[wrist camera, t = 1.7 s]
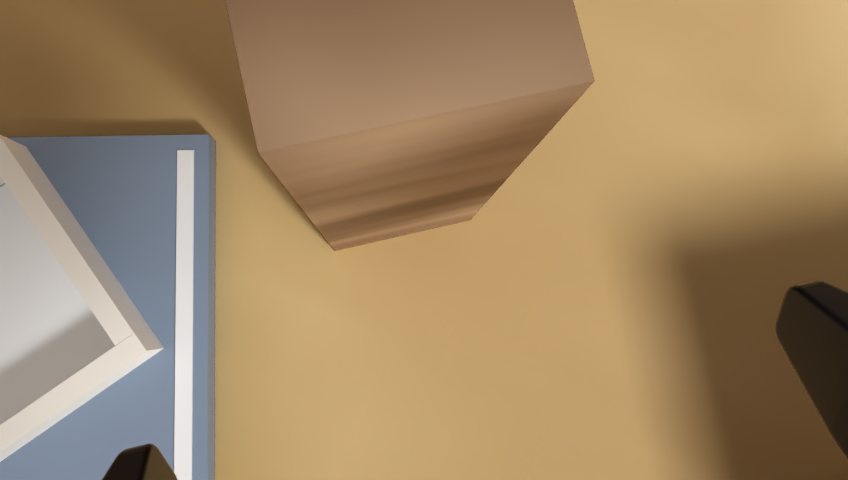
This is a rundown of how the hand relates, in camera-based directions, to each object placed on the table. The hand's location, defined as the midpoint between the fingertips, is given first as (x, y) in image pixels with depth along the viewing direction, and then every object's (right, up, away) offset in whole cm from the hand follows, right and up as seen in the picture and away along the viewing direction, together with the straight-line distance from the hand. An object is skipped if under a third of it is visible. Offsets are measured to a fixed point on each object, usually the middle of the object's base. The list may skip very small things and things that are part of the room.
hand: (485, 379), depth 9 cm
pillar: (-2, +4, +12) cm, 13 cm away
